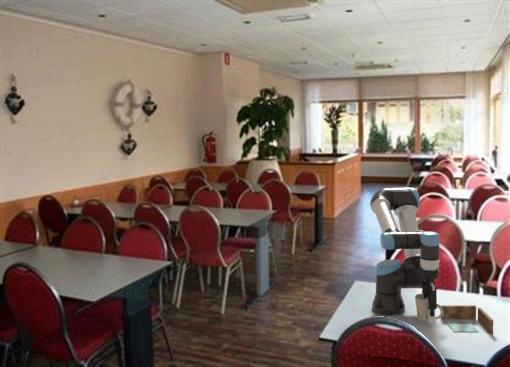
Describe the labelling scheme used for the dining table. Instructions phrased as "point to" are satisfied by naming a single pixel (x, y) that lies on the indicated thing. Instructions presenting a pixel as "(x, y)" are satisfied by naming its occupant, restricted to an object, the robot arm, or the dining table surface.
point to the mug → (424, 308)
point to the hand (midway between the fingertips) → (428, 318)
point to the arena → (466, 313)
